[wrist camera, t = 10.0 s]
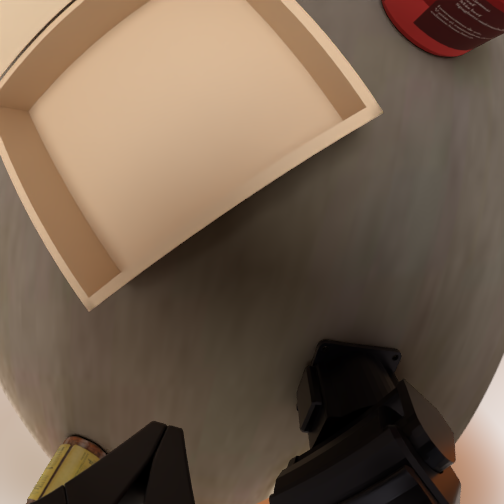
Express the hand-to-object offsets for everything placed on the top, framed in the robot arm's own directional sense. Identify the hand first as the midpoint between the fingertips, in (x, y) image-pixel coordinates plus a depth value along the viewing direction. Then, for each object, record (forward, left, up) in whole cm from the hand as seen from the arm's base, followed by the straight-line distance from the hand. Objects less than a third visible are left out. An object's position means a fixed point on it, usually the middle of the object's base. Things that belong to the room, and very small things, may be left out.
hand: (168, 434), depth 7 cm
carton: (+6, -10, -13) cm, 18 cm away
